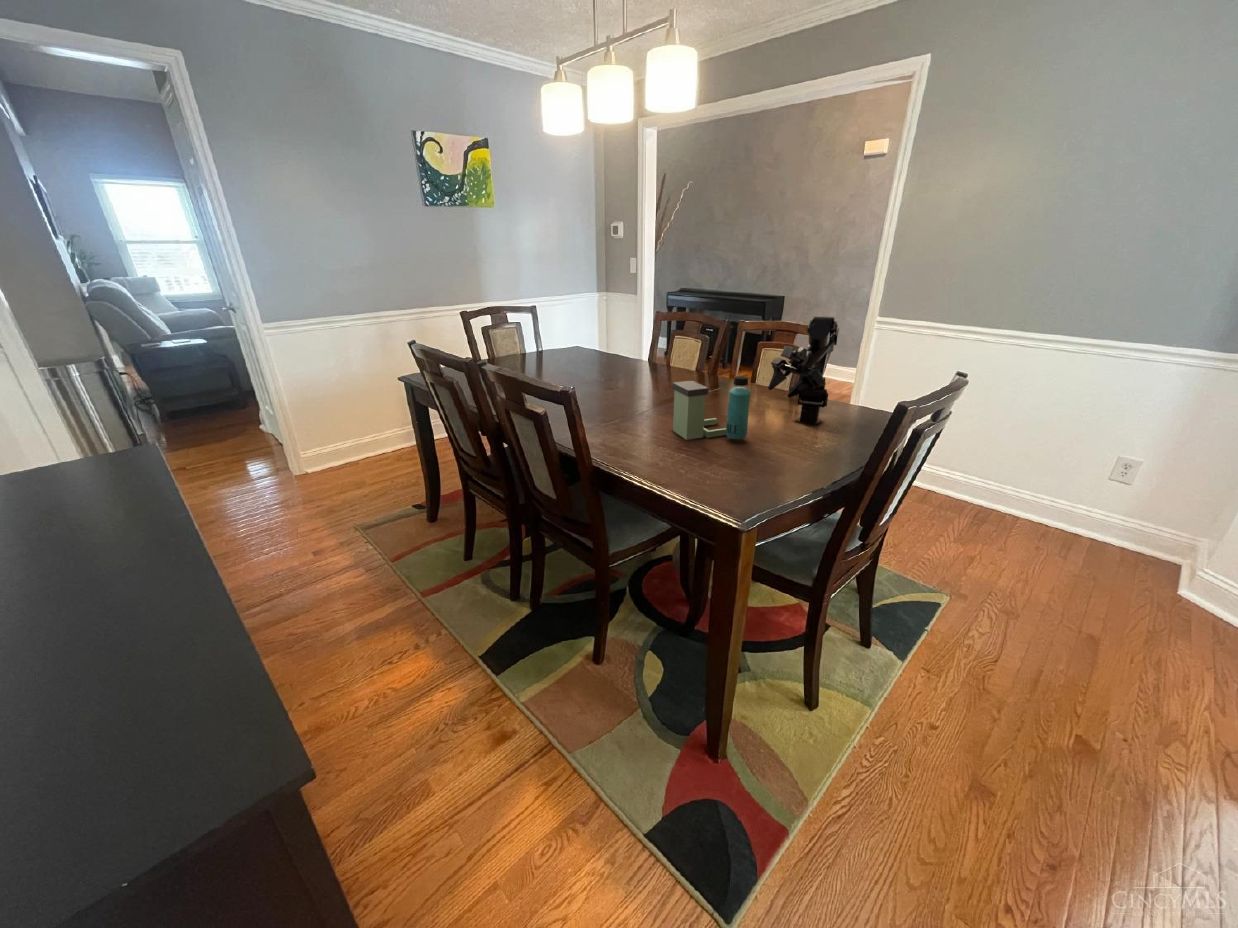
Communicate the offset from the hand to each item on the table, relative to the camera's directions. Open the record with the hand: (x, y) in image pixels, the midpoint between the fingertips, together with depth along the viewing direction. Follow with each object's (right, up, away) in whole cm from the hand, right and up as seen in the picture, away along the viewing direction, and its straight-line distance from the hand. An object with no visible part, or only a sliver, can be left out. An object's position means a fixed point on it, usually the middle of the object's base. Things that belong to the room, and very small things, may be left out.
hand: (778, 393), depth 151 cm
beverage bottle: (-13, -15, +1) cm, 20 cm away
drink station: (-22, -11, +8) cm, 26 cm away
